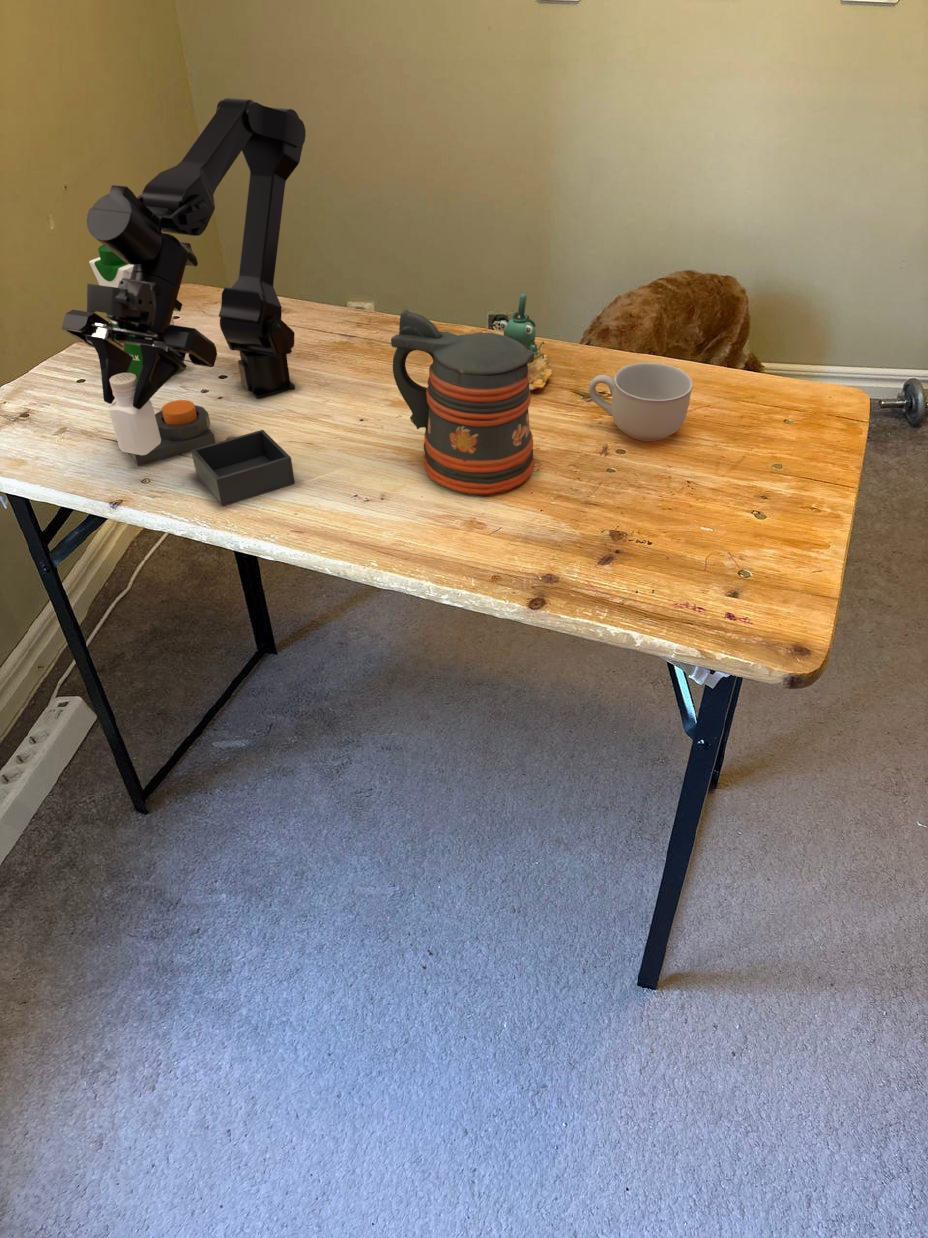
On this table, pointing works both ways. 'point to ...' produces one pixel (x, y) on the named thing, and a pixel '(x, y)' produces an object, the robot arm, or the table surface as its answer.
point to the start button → (179, 412)
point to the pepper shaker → (132, 417)
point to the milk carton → (109, 274)
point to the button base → (178, 438)
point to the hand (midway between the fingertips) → (121, 405)
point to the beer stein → (468, 406)
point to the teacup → (646, 399)
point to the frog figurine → (527, 344)
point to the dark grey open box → (243, 467)
